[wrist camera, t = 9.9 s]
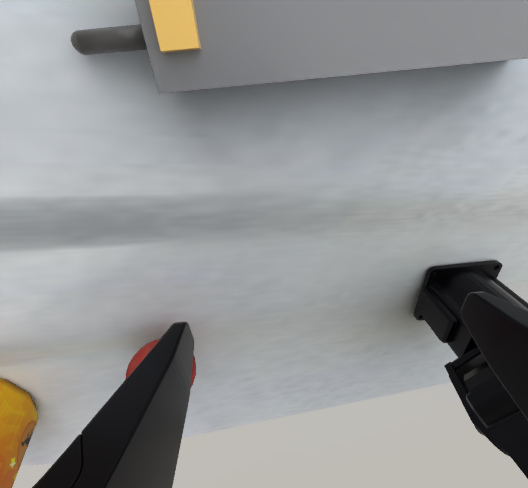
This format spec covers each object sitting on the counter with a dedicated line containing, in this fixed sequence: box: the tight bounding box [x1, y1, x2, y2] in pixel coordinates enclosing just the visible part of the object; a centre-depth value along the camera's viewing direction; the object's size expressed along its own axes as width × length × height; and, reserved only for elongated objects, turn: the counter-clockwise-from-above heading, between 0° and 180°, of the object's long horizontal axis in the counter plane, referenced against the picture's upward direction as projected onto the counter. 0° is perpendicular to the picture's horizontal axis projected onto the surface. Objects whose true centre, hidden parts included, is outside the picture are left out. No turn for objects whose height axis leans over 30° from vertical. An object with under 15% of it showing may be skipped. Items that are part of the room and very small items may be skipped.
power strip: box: [71, 0, 528, 94], centre depth 12 cm, size 24×5×5 cm, turn 95°
